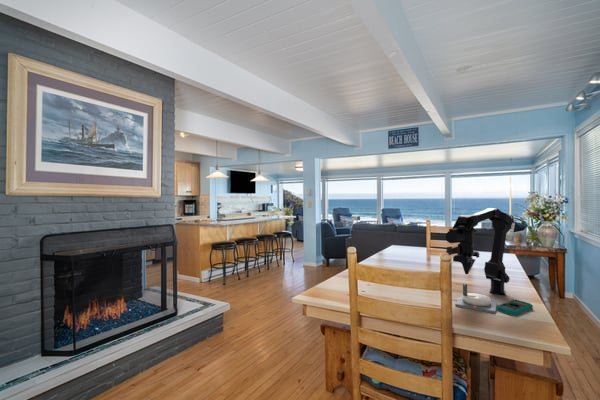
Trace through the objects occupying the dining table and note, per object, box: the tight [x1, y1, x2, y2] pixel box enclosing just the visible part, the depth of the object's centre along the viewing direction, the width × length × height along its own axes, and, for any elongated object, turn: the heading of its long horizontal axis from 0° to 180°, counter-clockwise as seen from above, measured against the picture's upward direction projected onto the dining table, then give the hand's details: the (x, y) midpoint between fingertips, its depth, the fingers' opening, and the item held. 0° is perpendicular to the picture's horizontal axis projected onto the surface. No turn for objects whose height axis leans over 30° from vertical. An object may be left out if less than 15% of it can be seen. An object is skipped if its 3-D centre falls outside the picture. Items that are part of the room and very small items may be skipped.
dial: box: [462, 283, 492, 306], centre depth 132 cm, size 11×11×7 cm
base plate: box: [454, 293, 498, 315], centre depth 132 cm, size 16×15×1 cm
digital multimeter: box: [496, 299, 534, 317], centre depth 126 cm, size 7×15×3 cm, turn 118°
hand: (466, 274), depth 140 cm, fingers closed
